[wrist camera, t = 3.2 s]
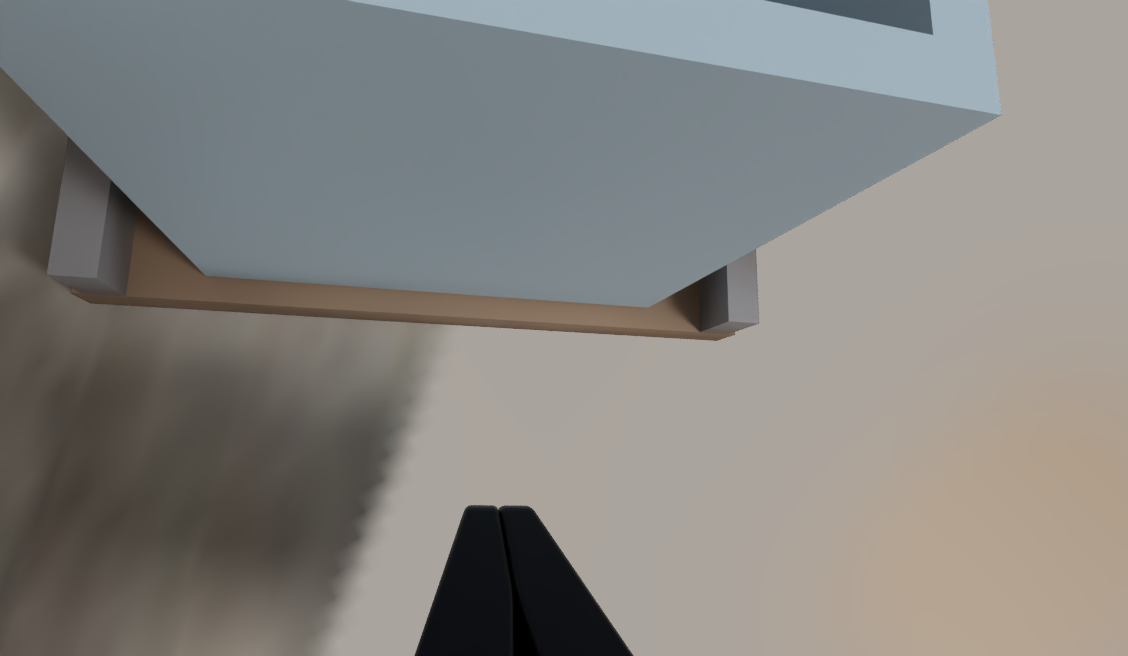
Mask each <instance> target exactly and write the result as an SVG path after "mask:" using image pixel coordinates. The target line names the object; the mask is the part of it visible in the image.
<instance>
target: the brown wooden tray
mask: <svg viewBox="0 0 1128 656" xmlns="http://www.w3.org/2000/svg"><path fill="white" fill-rule="evenodd" d="M47 275H48V276H50V277H52V278H54V279H56V280H57V281H59V282H61V283H63V284H65V285H67V286H69V287H70V288H71V290H70V293H72V294H74V295H76V296H78V297H79V298H81V299H83V300H85V301H87V302H89V303H97V304H113V305H130V306H147V307H163V308H180V309H197V310H213V311H230V312H247V313H264V314H280V315H297V316H314V317H330V318H347V319H364V320H380V321H397V322H414V323H430V324H447V325H464V326H481V327H498V328H514V329H531V330H548V331H564V332H582V333H598V334H614V335H632V336H647V337H664V338H682V339H697V340H714V341H717V340H720V339H723V338H726V337H729V336H732V335H735V331H738V330H741V329H744V328H747V327H750V326H753V325H756V324H759V310H758V309H759V308H758V286H757V264H756V249H755V250H753V251H751V252H749V253H747V254H746V255H744V256H742V257H740V258H738V259H736V260H735V261H733V262H731V263H729V264H727V265H725V266H724V267H722V268H720V269H718V270H716V271H714V272H713V273H711V274H709V275H707V276H705V277H703V278H702V279H700V280H698V281H696V282H694V283H692V284H691V285H689V286H687V287H685V288H683V289H681V290H680V291H678V292H676V293H674V294H672V295H670V296H669V297H667V298H665V299H663V300H661V301H659V302H658V303H656V304H654V305H652V306H650V307H648V308H645V307H631V306H617V305H603V304H589V303H575V302H561V301H547V300H533V299H519V298H505V297H491V296H478V295H464V294H450V293H436V292H422V291H408V290H394V289H380V288H366V287H352V286H338V285H324V284H310V283H296V282H282V281H268V280H254V279H240V278H226V277H212V276H205V275H204V274H203V273H202V272H201V271H200V270H199V269H198V268H197V266H196V265H195V264H194V263H193V262H192V261H191V260H190V259H189V258H188V257H187V256H186V255H185V254H184V253H183V252H182V251H181V250H180V249H179V248H178V247H177V246H176V245H175V244H174V243H173V242H172V241H171V240H170V239H169V238H168V237H167V236H166V235H165V234H164V233H163V232H162V231H161V230H160V229H159V228H158V227H157V226H156V225H155V224H154V223H153V222H152V221H151V220H150V219H149V218H148V217H147V216H146V215H145V214H144V213H143V212H142V211H141V210H140V209H139V208H138V207H137V206H136V205H135V204H134V203H133V202H132V200H131V199H130V198H129V197H128V196H127V195H126V194H125V193H124V192H123V191H122V190H121V189H120V188H119V187H118V186H117V185H116V184H115V183H114V182H113V181H112V180H111V179H110V178H109V177H108V176H107V175H106V174H105V173H104V172H103V171H102V170H101V169H100V168H99V167H98V166H97V165H96V164H95V163H94V162H93V161H92V160H91V159H90V158H89V157H88V156H87V155H86V154H85V153H84V152H83V151H82V150H81V149H80V148H79V147H78V146H77V145H76V144H75V143H74V142H73V141H72V140H71V139H70V138H68V145H67V151H66V157H65V163H64V169H63V176H62V182H61V188H60V194H59V200H58V207H57V213H56V219H55V225H54V231H53V238H52V244H51V250H50V256H49V262H48V269H47Z"/></svg>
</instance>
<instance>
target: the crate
mask: <svg viewBox="0 0 1128 656" xmlns="http://www.w3.org/2000/svg"><path fill="white" fill-rule="evenodd" d="M0 67H1V68H2V69H3V71H4V72H5V73H6V74H7V75H8V76H9V77H10V78H11V79H12V80H13V81H14V82H15V83H16V84H17V85H18V86H19V87H20V88H21V89H22V90H23V91H24V92H25V93H26V94H27V95H28V96H29V97H30V98H31V99H32V100H33V101H34V102H35V103H36V104H37V105H38V106H39V107H40V108H41V109H42V110H43V111H44V112H45V113H46V114H47V115H48V116H49V117H50V118H51V119H52V120H53V121H54V122H55V123H56V124H57V125H58V126H59V127H60V128H61V129H62V130H63V131H64V132H65V133H66V134H67V135H68V137H69V138H70V139H71V140H72V141H73V142H74V143H75V144H76V145H77V146H78V147H79V148H80V149H81V150H82V151H83V152H84V153H85V154H86V155H87V156H88V157H89V158H90V159H91V160H92V161H93V162H94V163H95V164H96V165H97V166H98V167H99V168H100V169H101V170H102V171H103V172H104V173H105V174H106V175H107V176H108V177H109V178H110V179H111V180H112V181H113V182H114V183H115V184H116V185H117V186H118V187H119V188H120V189H121V190H122V191H123V192H124V193H125V194H126V195H127V196H128V197H129V198H130V199H131V200H132V202H133V203H134V204H135V205H136V206H137V207H138V208H139V209H140V210H141V211H142V212H143V213H144V214H145V215H146V216H147V217H148V218H149V219H150V220H151V221H152V222H153V223H154V224H155V225H156V226H157V227H158V228H159V229H160V230H161V231H162V232H163V233H164V234H165V235H166V236H167V237H168V238H169V239H170V240H171V241H172V242H173V243H174V244H175V245H176V246H177V247H178V248H179V249H180V250H181V251H182V252H183V253H184V254H185V255H186V256H187V257H188V258H189V259H190V260H191V261H192V262H193V263H194V264H195V265H196V266H197V268H198V269H199V270H200V271H201V272H202V273H203V274H204V275H205V276H212V277H226V278H240V279H254V280H268V281H282V282H296V283H310V284H324V285H338V286H352V287H366V288H380V289H394V290H408V291H422V292H436V293H450V294H464V295H478V296H491V297H505V298H519V299H533V300H547V301H561V302H575V303H589V304H603V305H617V306H631V307H645V308H648V307H650V306H652V305H654V304H656V303H658V302H659V301H661V300H663V299H665V298H667V297H669V296H670V295H672V294H674V293H676V292H678V291H680V290H681V289H683V288H685V287H687V286H689V285H691V284H692V283H694V282H696V281H698V280H700V279H702V278H703V277H705V276H707V275H709V274H711V273H713V272H714V271H716V270H718V269H720V268H722V267H724V266H725V265H727V264H729V263H731V262H733V261H735V260H736V259H738V258H740V257H742V256H744V255H746V254H747V253H749V252H751V251H753V250H755V249H757V248H758V247H760V246H762V245H764V244H766V243H768V242H769V241H771V240H773V239H775V238H777V237H778V236H781V235H782V234H784V233H786V232H788V231H790V230H791V229H793V228H795V227H797V226H799V225H801V224H803V223H804V222H806V221H808V220H810V219H812V218H813V217H815V216H817V215H819V214H821V213H823V212H825V211H826V210H828V209H830V208H832V207H834V206H836V205H837V204H839V203H841V202H843V201H845V200H847V199H848V198H850V197H852V196H854V195H856V194H858V193H859V192H861V191H863V190H865V189H867V188H869V187H870V186H872V185H874V184H876V183H878V182H880V181H881V180H883V179H885V178H887V177H889V176H891V175H892V174H894V173H896V172H898V171H900V170H901V169H903V168H905V167H907V166H909V165H911V164H913V163H914V162H916V161H918V160H920V159H922V158H924V157H925V156H927V155H929V154H931V153H933V152H935V151H937V150H938V149H940V148H942V147H944V146H946V145H947V144H949V143H951V142H953V141H955V140H957V139H959V138H960V137H962V136H964V135H966V134H968V133H969V132H971V131H973V130H975V129H977V128H979V127H981V126H982V125H984V124H986V123H988V122H990V121H991V120H993V119H995V118H997V117H999V116H1001V115H1002V114H1001V106H1000V97H999V90H998V80H997V72H996V64H995V55H994V47H993V39H992V31H991V22H990V14H989V6H988V0H0Z"/></svg>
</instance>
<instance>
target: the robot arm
mask: <svg viewBox="0 0 1128 656" xmlns="http://www.w3.org/2000/svg"><path fill="white" fill-rule="evenodd" d="M415 656H633V654H632V653H631V651H630V650H629V649H628V647H627V646H626V644H625V643H624V641H623V640H622V638H621V637H620V635H619V634H618V632H617V631H616V630H615V628H614V627H613V625H612V624H611V622H610V621H609V619H608V618H607V616H606V615H605V613H604V612H603V611H602V609H601V608H600V606H599V605H598V603H597V602H596V601H595V599H594V598H593V596H592V595H591V593H590V592H589V590H588V589H587V587H586V586H585V584H584V583H583V581H582V580H581V578H580V577H579V576H578V574H577V573H576V571H575V570H574V568H573V567H572V565H571V564H570V562H569V561H568V560H567V558H566V557H565V555H564V554H563V552H562V551H561V549H560V548H559V546H558V545H557V543H556V542H555V541H554V539H553V538H552V536H551V535H550V533H549V532H548V530H547V529H546V527H545V526H544V525H543V523H542V522H541V520H540V519H539V517H538V516H537V514H536V513H535V511H534V510H533V509H532V508H530V507H528V506H502V507H500V508H499V510H498V509H497V507H495V506H482V505H478V506H477V505H476V506H475V505H474V506H473V505H471V506H468V507H466V509H465V511H464V513H463V516H462V519H461V522H460V525H459V528H458V530H457V534H456V536H455V539H454V542H453V545H452V548H451V551H450V554H449V557H448V560H447V563H446V565H445V569H444V571H443V574H442V577H441V580H440V583H439V586H438V589H437V592H436V595H435V598H434V601H433V603H432V607H431V609H430V612H429V615H428V618H427V621H426V624H425V627H424V630H423V633H422V636H421V639H420V642H419V645H418V647H417V650H416V653H415Z"/></svg>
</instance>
